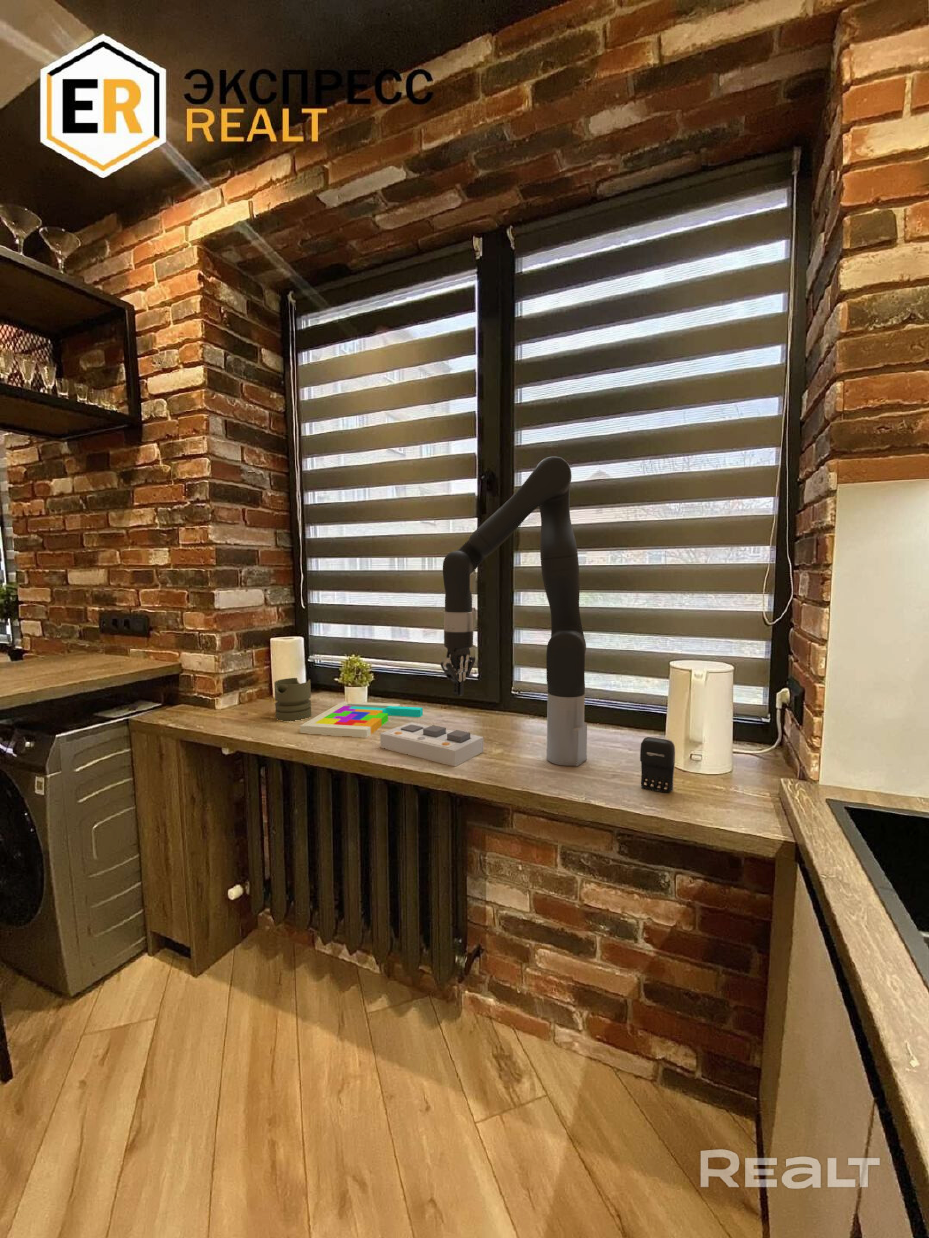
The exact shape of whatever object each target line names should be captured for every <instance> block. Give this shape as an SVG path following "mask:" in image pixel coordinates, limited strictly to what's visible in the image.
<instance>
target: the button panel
mask: <svg viewBox="0 0 929 1238" xmlns="http://www.w3.org/2000/svg"><path fill="white" fill-rule="evenodd" d="M408 725H416V726H420V727H423V729H424V728H427V727H430V726H431V725H427V724H423V723H418V722H413V721H411V722H407V723H404V724H403V725H400V726H397V727H393V728H390V729H389V730H386V731H383V732H381V733H379V734H380V735H379V737H380V739H379V740H380V743H379V744H380V748H381V749H384V748H385V749H384V750H389V751H392V752H397V753H400V754H405V755H407V754H408V755H409V756H412V757H415V758H419V759H423V760H428V761H432V762H435V763H439V764H444V765H447V766H451V767H457V766H459V765H461V764H463V763H465V762H466V761H469V760H470V759H472V758H474V757H476V756H478V755H479V754H482V753H484V736H481V735H475V734H471V733H470V739H469V740H467V741H465V742H463V743H458V742H453V741H449V740H447V734H448V733H451V732H453V731H454V730H452V729H447V728H446V734H444V735H442V736H439V737H437V738H435V737H431V736H426V735H423V729H421V730H419V731H416V732H408V731H403V730H401V728H403V727H406V726H408Z"/></svg>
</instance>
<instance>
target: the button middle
mask: <svg viewBox="0 0 929 1238" xmlns="http://www.w3.org/2000/svg"><path fill="white" fill-rule="evenodd" d="M429 726H430V727H427V728H424V729H423V735H426V736H431V737H435V738H437V737H439V736H442V735H444V734H446V729H447V727H445V726H444V727H443V726H440V725H434V724H433V725H429Z"/></svg>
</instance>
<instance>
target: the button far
mask: <svg viewBox="0 0 929 1238" xmlns="http://www.w3.org/2000/svg"><path fill="white" fill-rule="evenodd" d="M421 729H423V727H420V726H416V725H408V726H406V727H403V728H401V730H403V731H408V732H416V731H419V730H421Z"/></svg>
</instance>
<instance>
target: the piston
mask: <svg viewBox="0 0 929 1238" xmlns="http://www.w3.org/2000/svg"><path fill="white" fill-rule="evenodd" d="M273 684H274V685H273V686H274V700H275V701H276V702H275V703H274V706H275V707H274V708H275V713H274V714H275V720H276V719H278V720H283V721H293V722H296V721H295V720H300V721H302V720H301V719H305V718H308V719H310V718H311V717H312V700H311V697H312V691H311V689H312V688H311V686H312V685H311V679H308V680H307V681H305V682H302V683H300V682H299V680H298V678H297V677H290V678H289V677H288V678H282V679H279V680H275V681H274V683H273ZM309 717H310V718H309ZM278 720H277V721H278ZM305 720H306V719H305ZM283 721H282V722H283Z"/></svg>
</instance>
